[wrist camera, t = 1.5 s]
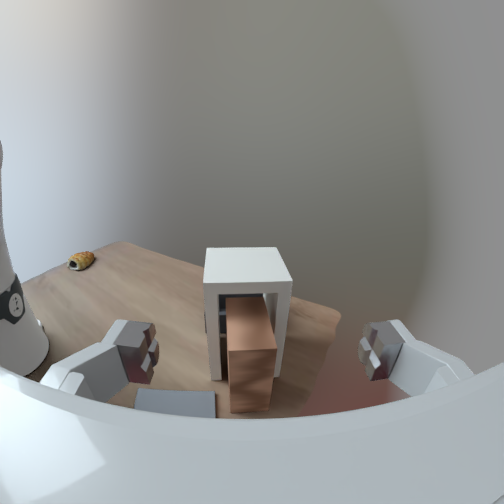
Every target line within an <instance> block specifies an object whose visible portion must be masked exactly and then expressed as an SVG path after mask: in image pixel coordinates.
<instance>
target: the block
mask: <svg viewBox="0 0 504 504" xmlns="http://www.w3.org/2000/svg"><path fill="white" fill-rule="evenodd" d="M226 337H227V365H228V381H229V396H230V410H231V413H240V412H257V411H269V405H270V399H271V392H272V385H273V378H274V370H275V363H276V355H277V345H276V341H275V338H274V334H273V330H272V326H271V323H270V319H269V315H268V311H267V308H266V304H265V300H264V297H241V298H226Z"/></svg>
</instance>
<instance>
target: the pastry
mask: <svg viewBox="0 0 504 504" xmlns="http://www.w3.org/2000/svg"><path fill="white" fill-rule="evenodd" d="M93 261H94V254H93V253H91V252H87V251H86V252H81V253H77V254H75V255H74V256H71V257H70V258H69V259H68V263H67V267H68V268H69V269H70V270H83V269H85V268H86V267H87V266H89V265H90V264H91V263H92V262H93Z"/></svg>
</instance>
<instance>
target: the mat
mask: <svg viewBox="0 0 504 504" xmlns="http://www.w3.org/2000/svg"><path fill="white" fill-rule="evenodd" d="M134 409H136V410H142V411H148V412H155V413H162V414H169V415H178V416H188V417H201V418H215V391H173V390H155V389H143V388H138V391H137V396H136V400H135V405H134Z"/></svg>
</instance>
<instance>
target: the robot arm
mask: <svg viewBox="0 0 504 504" xmlns="http://www.w3.org/2000/svg"><path fill="white" fill-rule="evenodd" d="M2 160H3V151H2V145H1V141H0V504H504V362H502V363H501V364H498V365H496V366H494V367H492V368H490V369H488V370H486V371H483V372H481V373H479V374H476V375H474V374H473V373H472V371H471V370H470V369H469V368H468V366H467V365H466V364H465V363H464V362H463V360H461V359H459V358H457V357H454V356H452V355H450V354H448V353H446V352H443V351H441V350H439V349H437V348H435V347H433V346H431V345H428V344H426V343H424V342H422V341H419V340H418V341H416V339H415V338H414V337H413V336H412V335H411V333H410V332H409V331H408V330H407V329H406V327H405V326H404V325H403V324H402V322H400V321H399V320H390V321H385V322H376V323H366V324H365V326H364V328H363V332H362V333H363V334H364V337H363V338H362V339H361V340H360V342H359V346H358V356H359V360H360V362H361V363H362V364H364V365H365V366H366V368H365V372H366V373H367V375H368V377H369V379H370V381H375V380H381V379H387V378H389V380H390V381H391V382H393V383H394V384H395V385H397V386H398V387H399V388H401V389H402V390H403V391H405V392H406V393H408V394H409V395H410V396H411V397H410V398H406V399H403V400H399V401H395V402H391V403H387V404H382V405H377V406H373V407H368V408H363V409H357V410H351V411H345V412H339V413H331V414H323V415H314V416H304V417H292V418H274V419H219V418H201V417H188V416H178V415H169V414H162V413H155V412H148V411H142V410H136V409H131V408H126V407H121V406H116V405H112V404H107V403H105V402H107V401H108V400H109V399H110V398H112V397H113V396H114V395H115V394H116V393H118V392H119V391H120V390H121V389H123V388H124V387H125V386H126V385H127V384H129V382H132V383H140V384H149V385H150V382H151V379H152V377H153V374H154V371H153V367H154V366H156V365H157V362H158V359H159V345H158V341H157V340H156V339H155V338H154V336H155V334H156V330H155V325H154V324H153V323H146V322H137V321H128V320H119V319H118V320H116V321H115V322H114V324H113V325H112V327H111V328H110V330H109V331H108V333H107V334H106V336H105V337H104V339H103V340H102V342H101V343H99V342H97V343H95V344H93V345H91V346H89V347H87V348H85V349H83V350H81V351H79V352H77V353H75V354H73V355H71V356H69V357H67V358H65V359H63V360H61V361H59V362H57V363H55V364H53V365H51V367H50V368H49V370H48V371H47V372H46V374H45V375H44V377H43V378H42V380H41V381H40V382H39V383H38V382H35V381H33V380H30V379H28V378H25V377H23V376H25V375H27V374H29V373H31V372H32V371H34V370H35V369H36V368H37V367H38V366H39V365H40V364H41V363H42V361H43V360H44V358H45V357H46V355H47V352H48V349H49V341H48V338H47V336H46V335H45V334H44V332H43V328H42V324H41V322H40V321H39V320H37V319H36V317H35V315H34V313H33V311H32V309H31V307H30V305H29V303H28V301H27V299H26V297H25V296H24V295H23V291H22V288H21V283H20V281H19V279H18V277H17V274H16V273H14V271H13V267H12V263H11V260H10V256H9V252H8V248H7V244H6V240H5V235H4V229H3V219H2V192H1V166H2Z"/></svg>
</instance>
